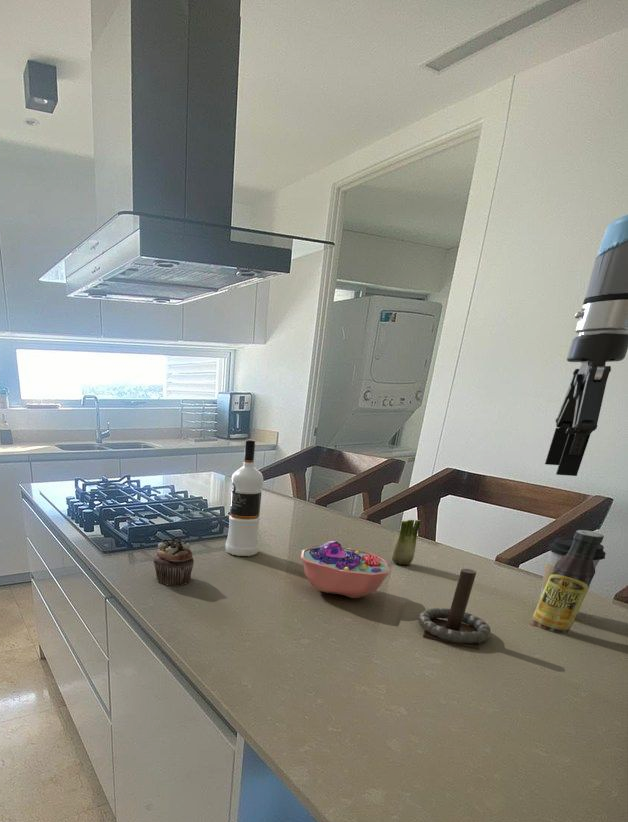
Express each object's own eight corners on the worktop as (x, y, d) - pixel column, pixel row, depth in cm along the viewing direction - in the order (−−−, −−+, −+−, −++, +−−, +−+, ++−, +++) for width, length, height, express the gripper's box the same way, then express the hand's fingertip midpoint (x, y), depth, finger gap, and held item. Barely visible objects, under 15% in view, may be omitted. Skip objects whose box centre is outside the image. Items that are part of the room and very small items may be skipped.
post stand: (477, 634, 93) (497, 568, 88) (477, 654, 86) (499, 584, 80) (425, 623, 97) (442, 559, 92) (421, 641, 90) (439, 573, 84)
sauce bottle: (525, 628, 96) (559, 530, 87) (535, 619, 99) (569, 525, 91) (564, 641, 91) (605, 539, 83) (574, 631, 95) (613, 533, 87)
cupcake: (201, 579, 116) (203, 539, 112) (173, 590, 110) (174, 548, 106) (173, 569, 122) (173, 530, 118) (144, 579, 116) (144, 539, 112)
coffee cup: (535, 615, 101) (560, 546, 95) (522, 598, 109) (544, 534, 103) (589, 622, 99) (618, 552, 92) (571, 604, 107) (597, 539, 101)
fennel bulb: (410, 561, 131) (420, 517, 126) (415, 567, 127) (426, 522, 122) (387, 560, 132) (396, 516, 127) (392, 566, 127) (402, 521, 122)
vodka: (262, 557, 132) (272, 442, 120) (228, 557, 131) (235, 441, 119) (254, 546, 140) (263, 438, 128) (222, 547, 139) (229, 437, 127)
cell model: (353, 618, 99) (363, 565, 94) (280, 586, 113) (285, 539, 108) (400, 599, 108) (411, 550, 103) (326, 572, 122) (333, 528, 118)
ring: (487, 624, 94) (490, 615, 93) (490, 651, 84) (493, 641, 83) (419, 610, 99) (421, 601, 98) (414, 635, 89) (417, 625, 88)
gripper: (561, 341, 90) (526, 459, 98) (589, 327, 69) (543, 478, 78) (612, 339, 86) (572, 462, 95) (658, 325, 66) (602, 482, 75)
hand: (559, 469), depth 87 cm, fingers open, 13 cm apart
